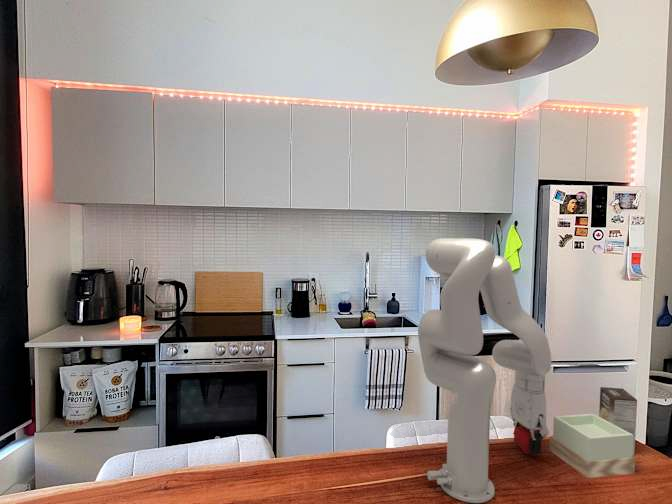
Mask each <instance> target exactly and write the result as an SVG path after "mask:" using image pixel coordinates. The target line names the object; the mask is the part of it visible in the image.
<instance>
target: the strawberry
mask: <svg viewBox="0 0 672 504" xmlns="http://www.w3.org/2000/svg"><path fill="white" fill-rule="evenodd" d="M519 425H521V426H518V427H516V428H515V427H514V430H513V433H512V434H513V438H514V437H515V440H516V443H517V445H518V446H519V448H520V449H521V450H522V451H523V452H524V454H525V455H530V454H531V453H530V452H529V446H530V439H532V437H531V432H530V429H528V428H526V427H525V426H523V425H522V424H519ZM536 427H537V426H536ZM537 433H538V431H537V430H535V434H537Z"/></svg>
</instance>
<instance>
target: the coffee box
mask: <svg viewBox="0 0 672 504" xmlns="http://www.w3.org/2000/svg"><path fill="white" fill-rule="evenodd" d="M599 390H600V391H599V412H598V416H599V417H600V418H602V419H604V420H606V421H608V422H610V423H612V424H614V425H616V426H617V427H619V428H621V429H623V430H625V431H627V432H629V433H631V434H633V456H635V452H636V451H635V448H636V447H635V446H636V428H637V410H638V399H637V398H635V397H634V396H633V395H632V394H630V393H629V392H628V391H627V390H625V389H624V388H618V387H605V386H604V387H603V386H601V387H600V389H599Z"/></svg>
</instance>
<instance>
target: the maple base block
mask: <svg viewBox="0 0 672 504" xmlns="http://www.w3.org/2000/svg"><path fill="white" fill-rule="evenodd" d="M548 449H549V451H550V452H552V453H553V454H554V455H556V456H557V457H558V458H559V459H561V460H562V461H563V462H565V463H567V464H568V465H569V466H570V467H572V469H575V470H576V471H578V472H579V473H580V474H581V475H583V476H584V477H585V478H587V479H593V478H594V479H595V478H602V477H613V476H621V475H622V476H624V475H634V474H635V472H636V471H635V469H636V457H632V458H623V459H613V460H603V461H592V462H589V461H587V460H586V459H584V458H583V457H582V456H580V455H579V454H577V453H576V452H574V451H573V450H571V449H570V448H568V447H567V446H565V445H564V444H562V443H561V442H559V441H558V440H556V439H555V438H554V437H553V435H549V445H548Z"/></svg>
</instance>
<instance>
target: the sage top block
mask: <svg viewBox="0 0 672 504" xmlns="http://www.w3.org/2000/svg"><path fill="white" fill-rule="evenodd" d="M552 428H553V429H552V430H553V431H552V436H553V437H554V438H555V439H556V440H558V441H559V442H561V443H562V444H564V445H565V446H567V447H568V448H570V449H571V450H573V451H574V452H576V453H577V454H579V455H580V456H582V457H583V458H584V459H586V460H587V461H589V462H592V461H603V460H613V459H623V458H632V457H633V456H634V455H633V434H631V433H629V432H627V431H625V430H623V429H621V428H619V427H617V426H616V425H614V424H612V423H610V422H608V421H606V420H604V419H602V418H600V417H599V415H597V414H595V413H583V414H569V415H558V416H557V415H555V416H553V424H552Z"/></svg>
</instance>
